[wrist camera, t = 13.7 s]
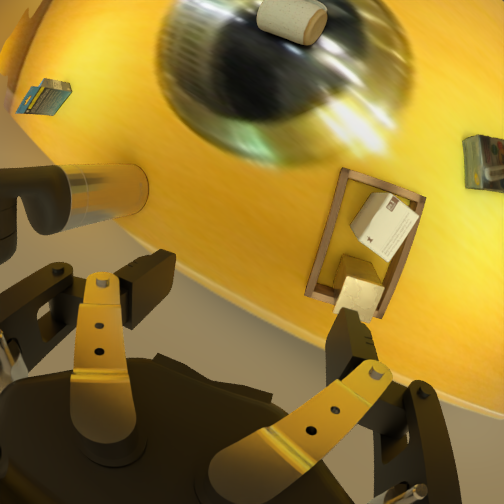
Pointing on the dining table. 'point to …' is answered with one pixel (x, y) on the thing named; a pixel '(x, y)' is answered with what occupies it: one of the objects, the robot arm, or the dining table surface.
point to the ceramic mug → (293, 19)
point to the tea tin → (357, 287)
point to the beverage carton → (484, 163)
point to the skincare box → (383, 224)
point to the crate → (397, 260)
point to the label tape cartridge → (45, 98)
